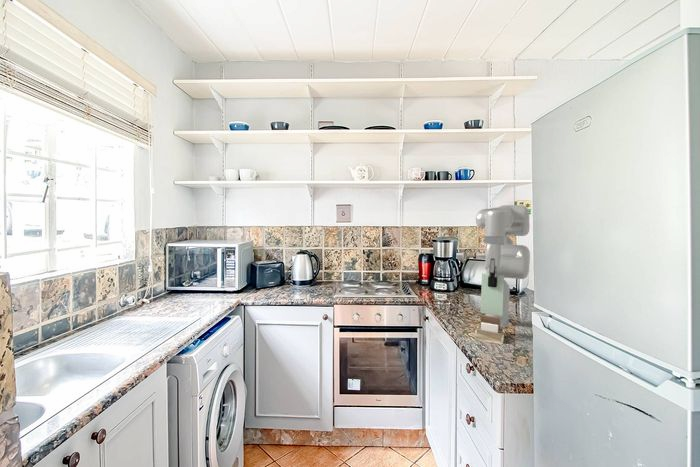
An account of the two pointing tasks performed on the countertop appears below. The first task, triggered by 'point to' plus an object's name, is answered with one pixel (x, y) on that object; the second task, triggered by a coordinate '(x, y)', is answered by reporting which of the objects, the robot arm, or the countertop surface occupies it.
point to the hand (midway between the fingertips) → (492, 286)
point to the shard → (472, 323)
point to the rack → (490, 335)
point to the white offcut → (489, 327)
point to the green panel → (492, 296)
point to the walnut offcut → (490, 320)
